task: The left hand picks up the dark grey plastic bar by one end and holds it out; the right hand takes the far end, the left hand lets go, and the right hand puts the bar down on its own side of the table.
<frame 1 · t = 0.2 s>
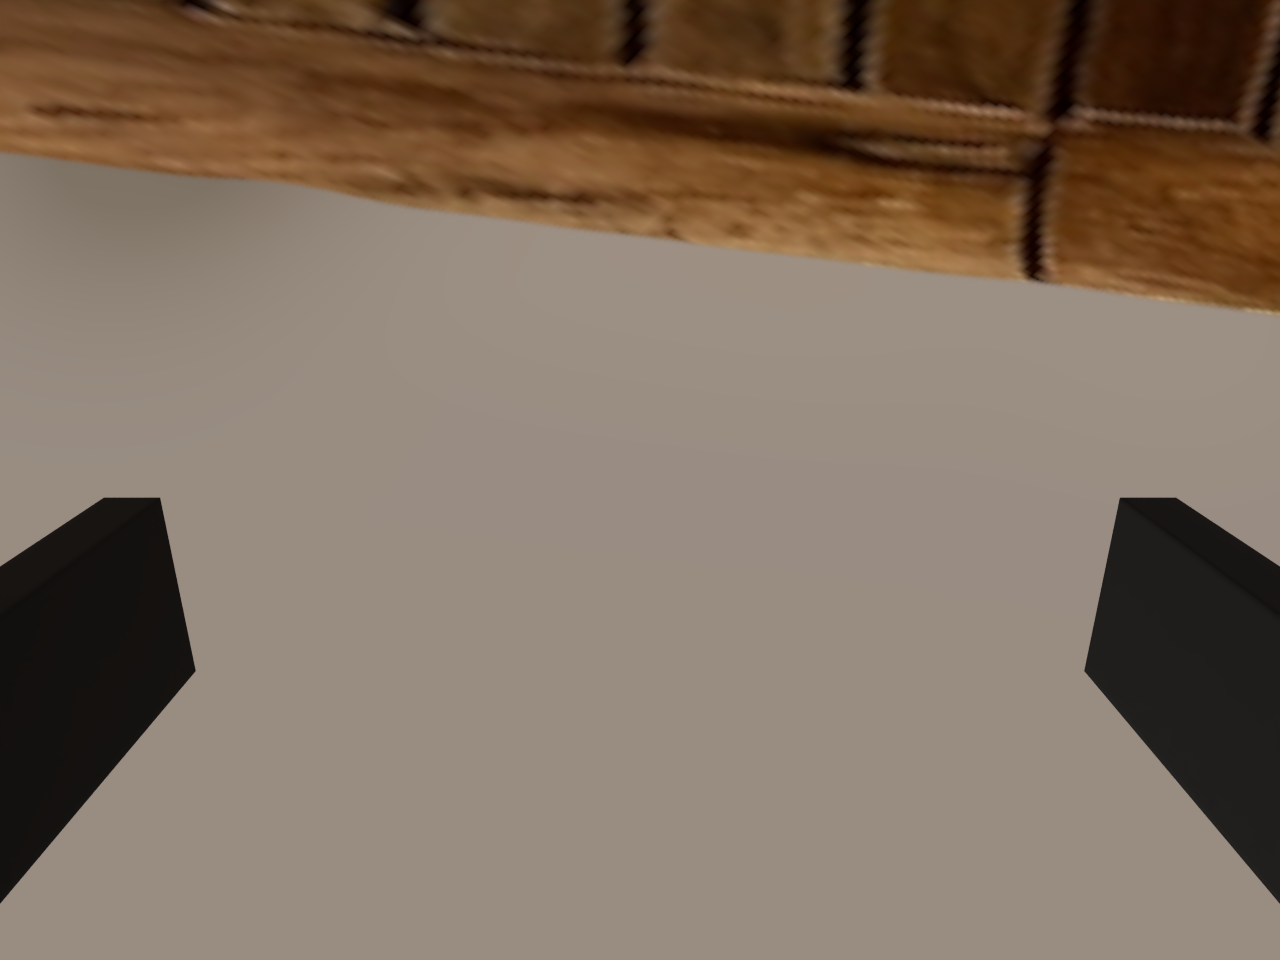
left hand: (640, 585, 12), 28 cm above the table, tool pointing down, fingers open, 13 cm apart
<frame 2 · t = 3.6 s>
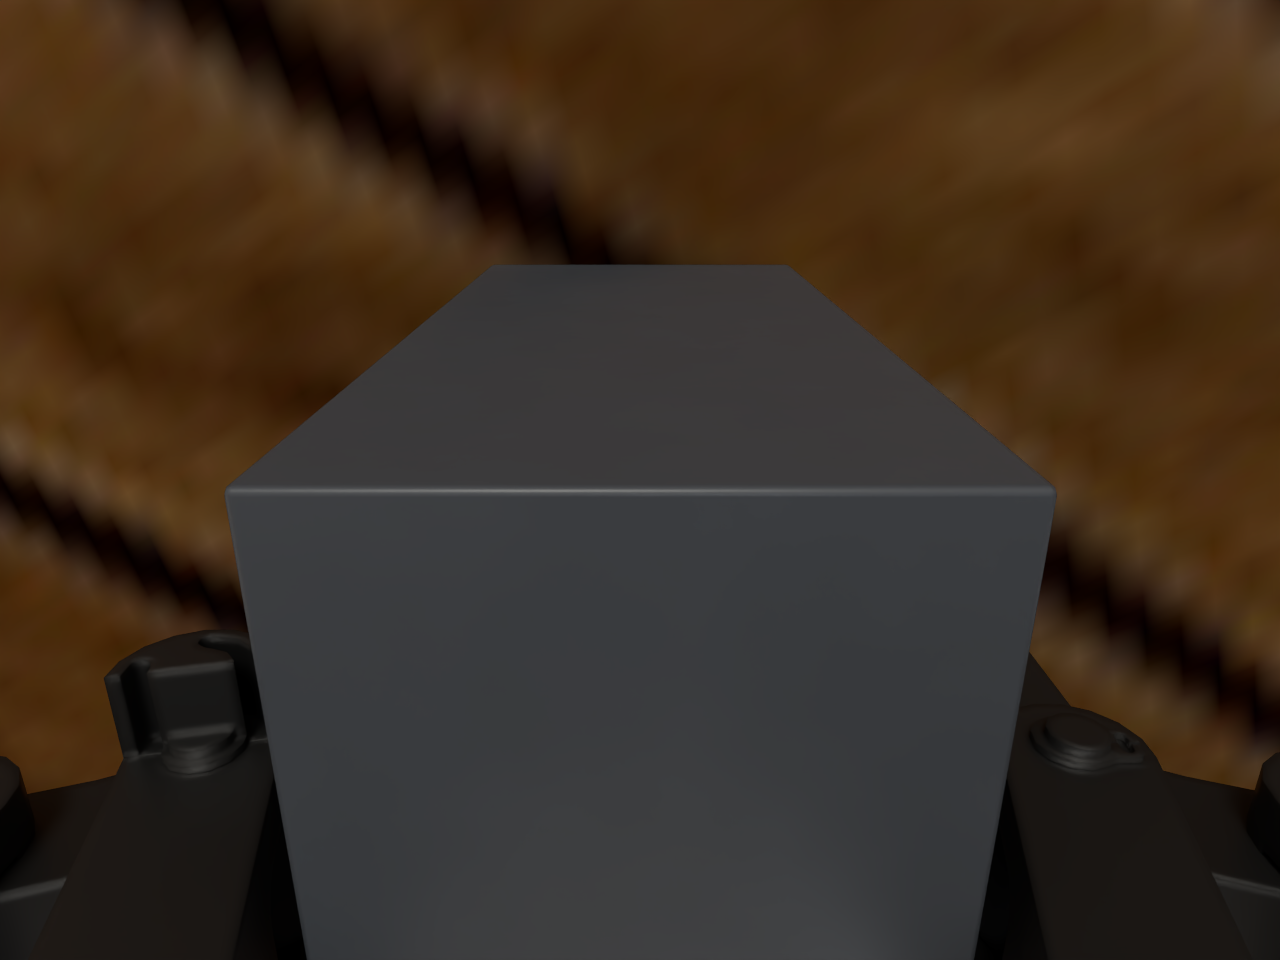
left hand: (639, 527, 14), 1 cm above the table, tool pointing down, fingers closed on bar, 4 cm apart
bar: (640, 860, 18), on the table, touching left hand
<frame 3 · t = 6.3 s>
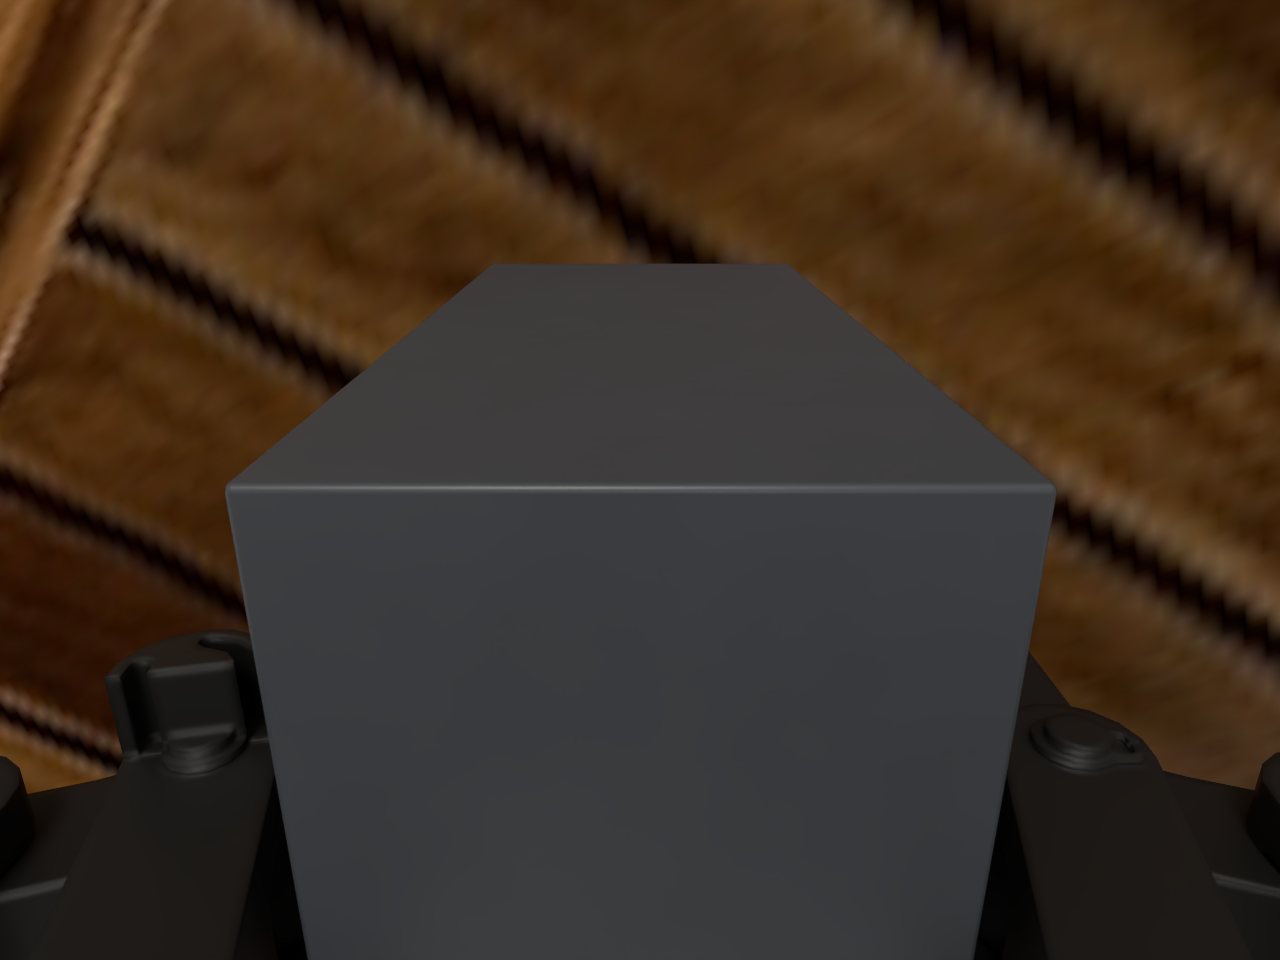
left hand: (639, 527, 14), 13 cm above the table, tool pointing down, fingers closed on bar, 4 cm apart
bar: (640, 859, 18), point 12 cm above the table, touching left hand
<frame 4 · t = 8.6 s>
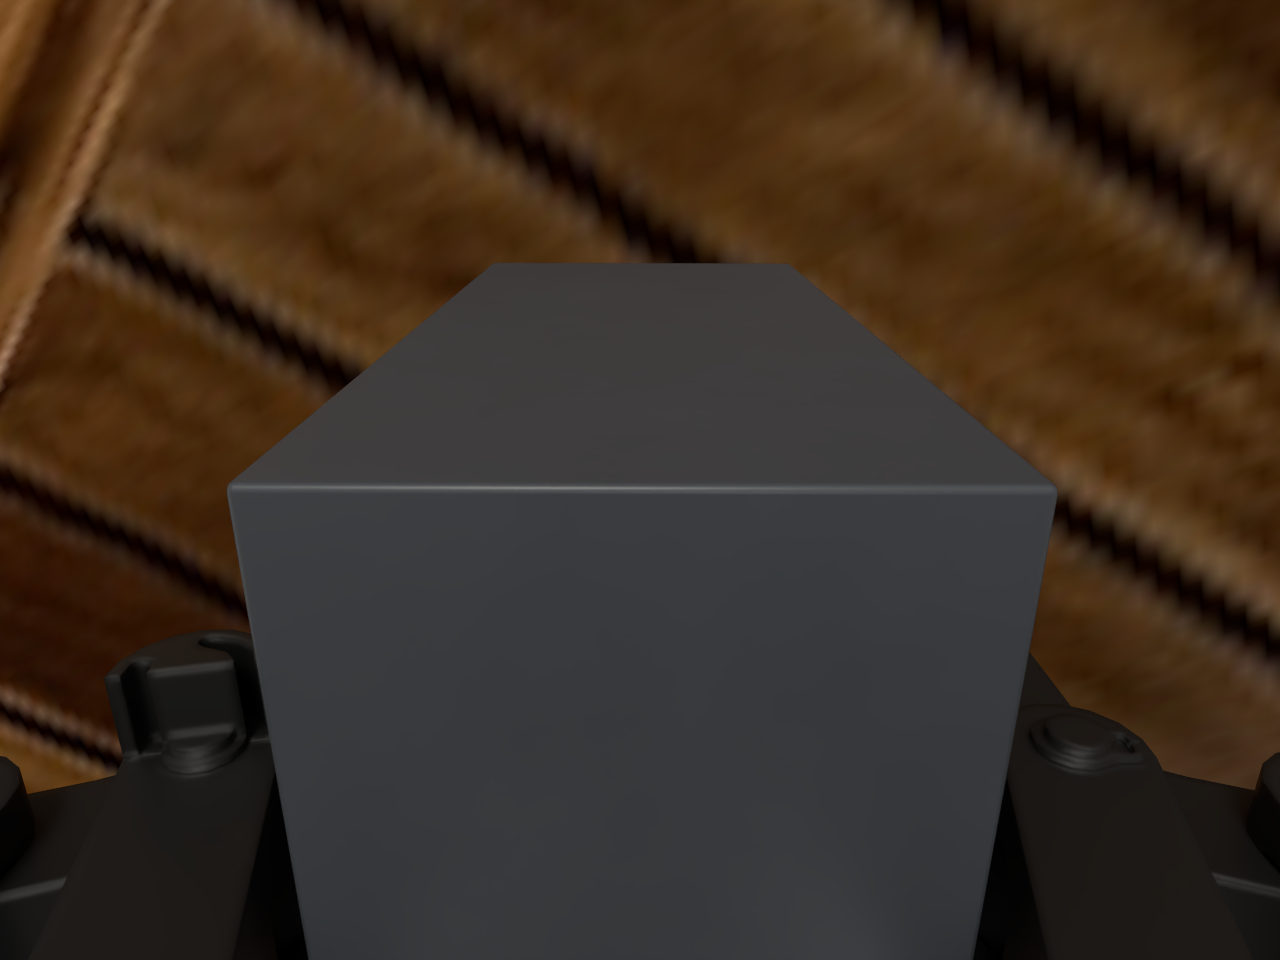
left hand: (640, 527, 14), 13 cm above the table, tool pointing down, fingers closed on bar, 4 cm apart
bar: (639, 858, 18), point 12 cm above the table, touching left hand, right hand
when the left hand's fingers open (13 cm above the table, at t = 9.4 s): bar stays where it is, held by the right hand.
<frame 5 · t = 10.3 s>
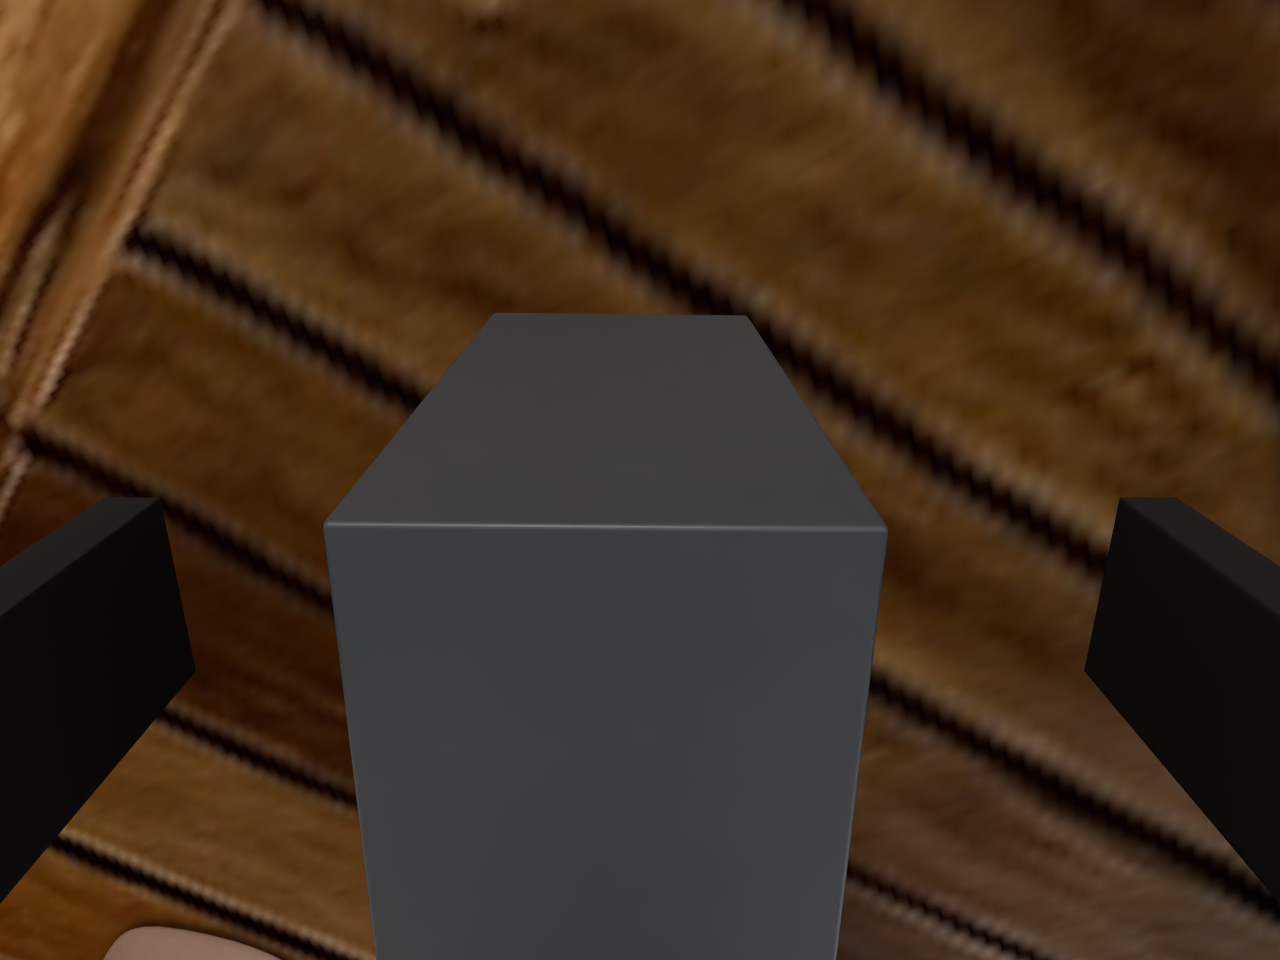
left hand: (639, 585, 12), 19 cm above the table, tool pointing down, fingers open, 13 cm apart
bar: (617, 831, 20), point 14 cm above the table, touching right hand
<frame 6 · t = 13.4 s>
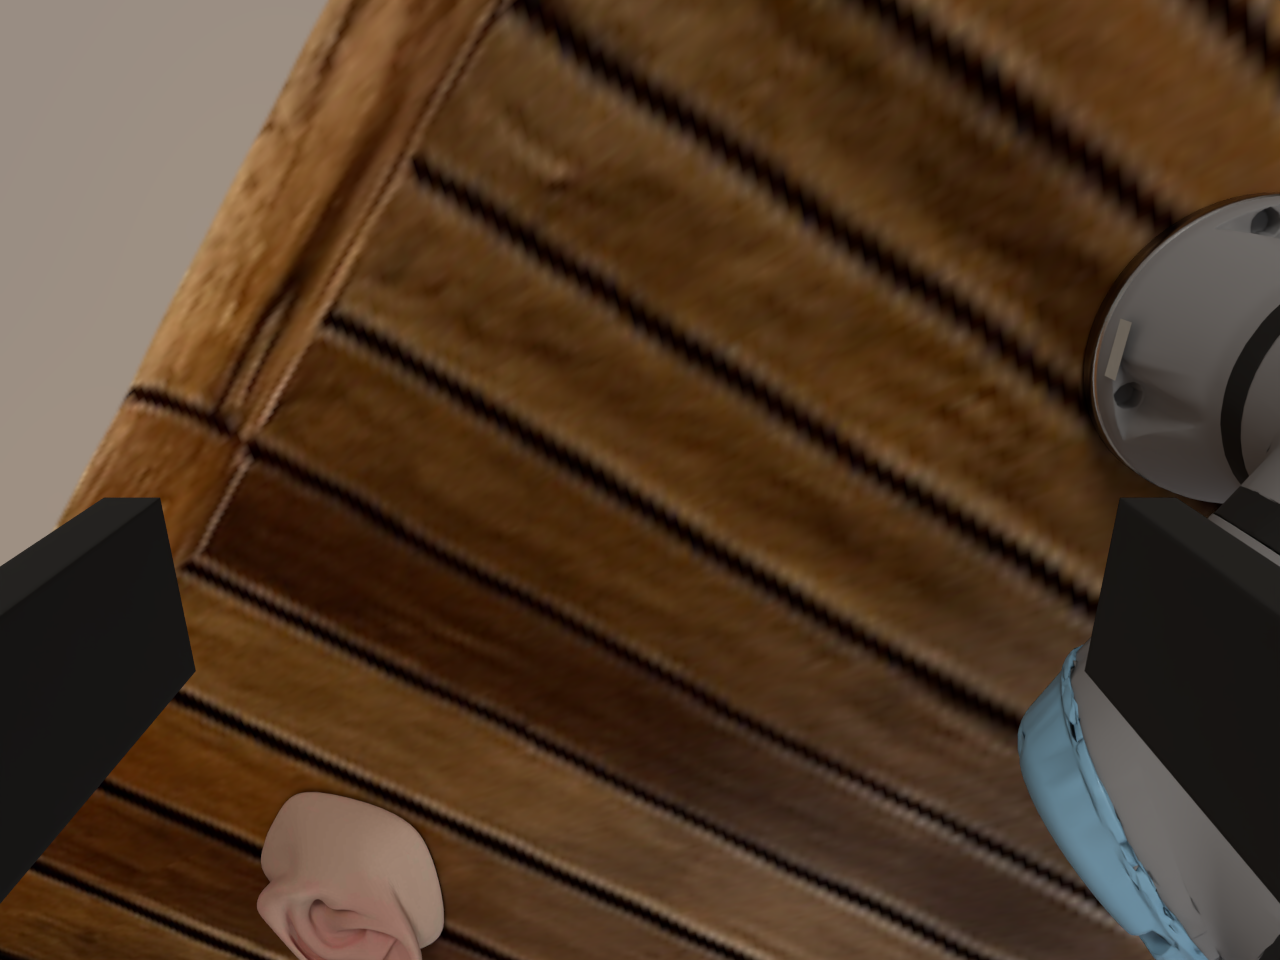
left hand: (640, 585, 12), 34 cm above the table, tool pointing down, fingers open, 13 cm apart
anatomical model: (354, 873, 58), on the table
when the right hand's fingers open (6 cm above the table, at t = 18.3 s): bar drops 2 cm, on the table.
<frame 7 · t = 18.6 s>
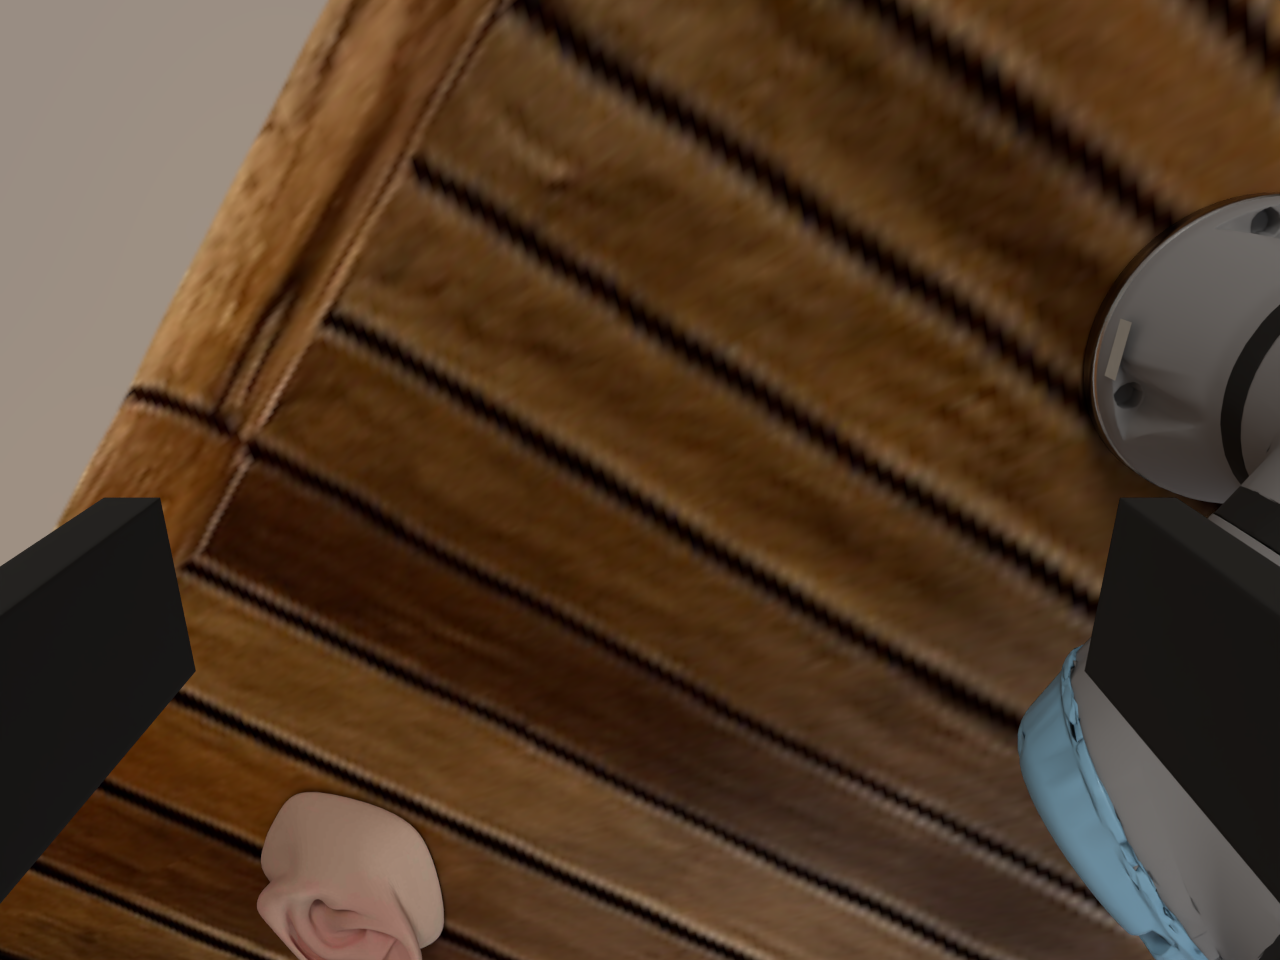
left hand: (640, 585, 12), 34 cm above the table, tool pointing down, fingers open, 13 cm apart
anatomical model: (354, 873, 58), on the table
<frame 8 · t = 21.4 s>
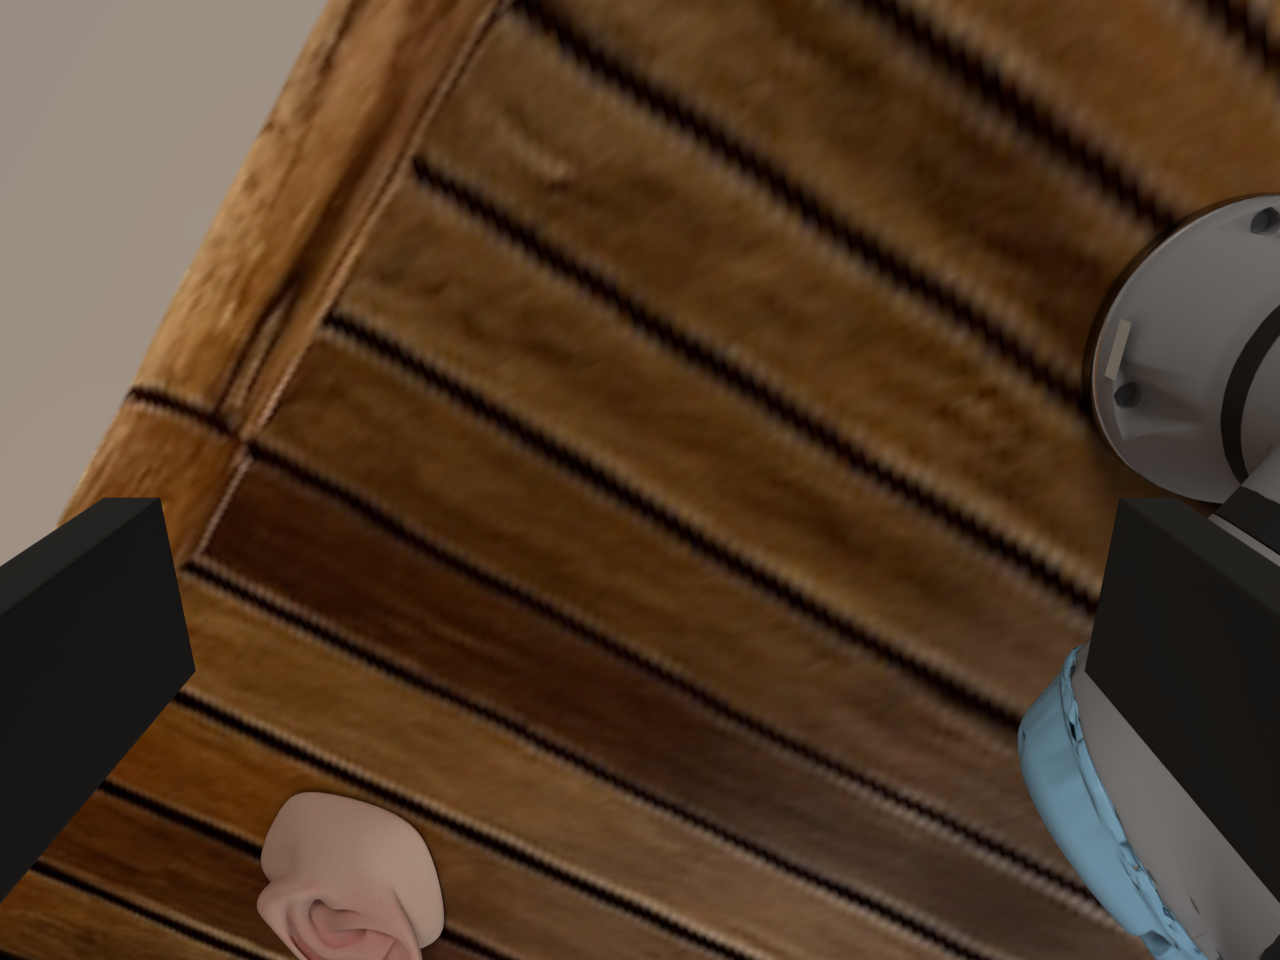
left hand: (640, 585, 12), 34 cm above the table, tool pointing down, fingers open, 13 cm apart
anatomical model: (354, 873, 58), on the table
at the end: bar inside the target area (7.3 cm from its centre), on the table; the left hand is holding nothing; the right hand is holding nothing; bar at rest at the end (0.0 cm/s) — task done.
